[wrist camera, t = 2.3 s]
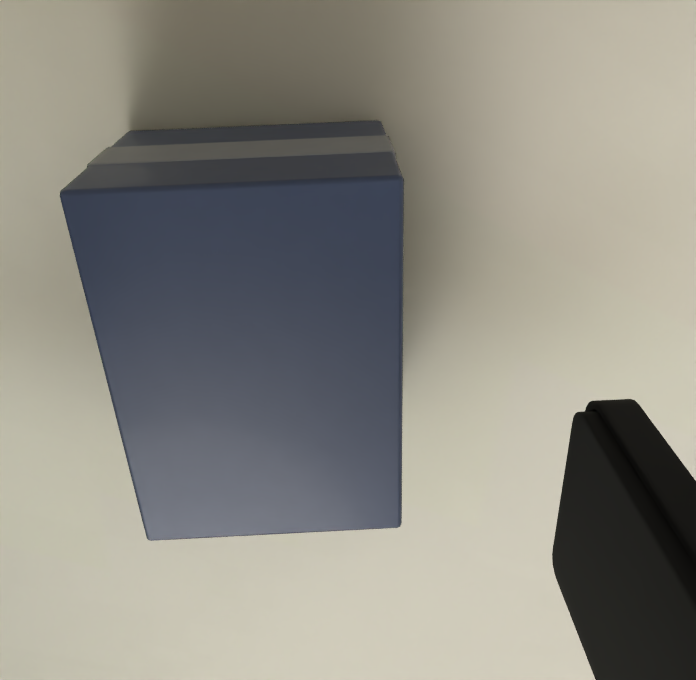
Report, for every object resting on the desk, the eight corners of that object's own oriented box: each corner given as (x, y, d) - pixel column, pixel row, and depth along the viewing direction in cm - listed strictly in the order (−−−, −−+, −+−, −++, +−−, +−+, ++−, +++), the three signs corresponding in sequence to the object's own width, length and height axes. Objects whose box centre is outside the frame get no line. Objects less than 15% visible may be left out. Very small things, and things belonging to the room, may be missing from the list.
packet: (125, 129, 13) (54, 190, 10) (383, 118, 13) (405, 174, 10) (182, 420, 16) (145, 543, 13) (385, 410, 17) (403, 530, 13)
